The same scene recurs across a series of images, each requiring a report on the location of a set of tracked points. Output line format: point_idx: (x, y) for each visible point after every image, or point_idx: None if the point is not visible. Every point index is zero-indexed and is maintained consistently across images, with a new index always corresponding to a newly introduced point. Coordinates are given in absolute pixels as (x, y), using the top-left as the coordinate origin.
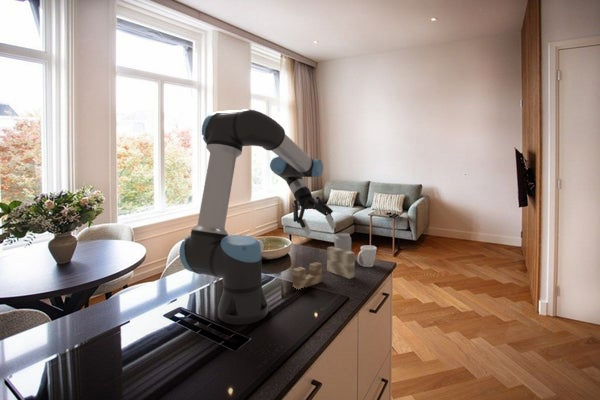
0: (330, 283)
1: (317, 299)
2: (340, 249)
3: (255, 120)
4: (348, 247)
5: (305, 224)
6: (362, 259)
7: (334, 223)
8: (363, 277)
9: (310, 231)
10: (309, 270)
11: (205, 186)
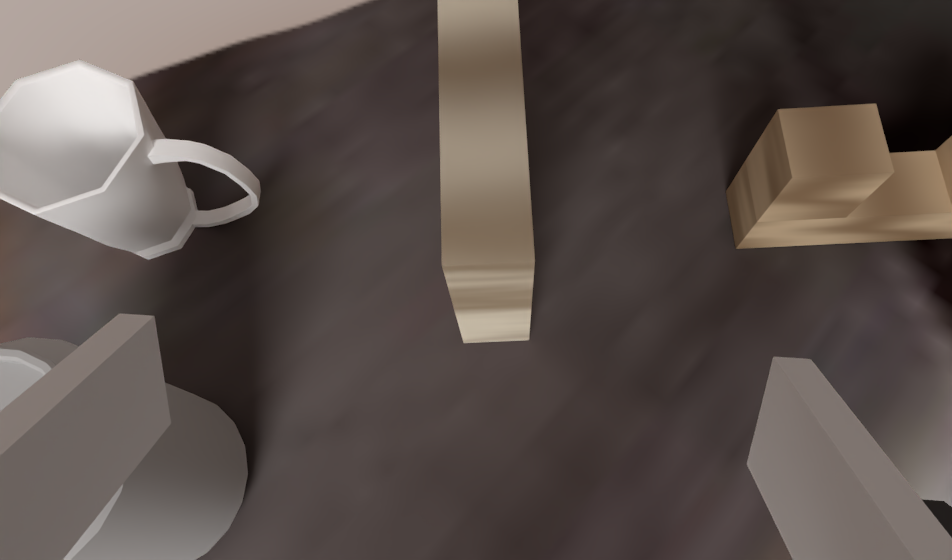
0: (694, 132)
1: (930, 7)
2: (468, 117)
3: None
4: None
5: (907, 501)
6: (165, 226)
7: (91, 343)
8: (416, 74)
9: (794, 360)
10: (862, 200)
11: None
